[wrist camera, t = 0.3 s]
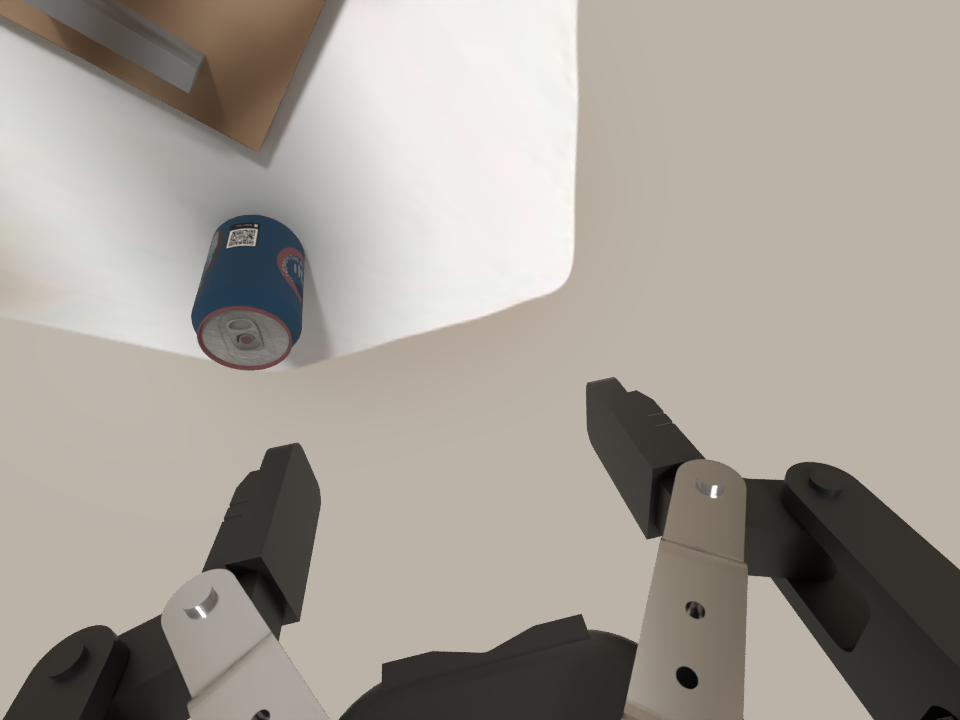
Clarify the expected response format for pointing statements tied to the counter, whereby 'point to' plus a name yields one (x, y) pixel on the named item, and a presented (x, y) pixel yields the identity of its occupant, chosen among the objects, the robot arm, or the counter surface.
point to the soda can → (250, 294)
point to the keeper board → (187, 51)
